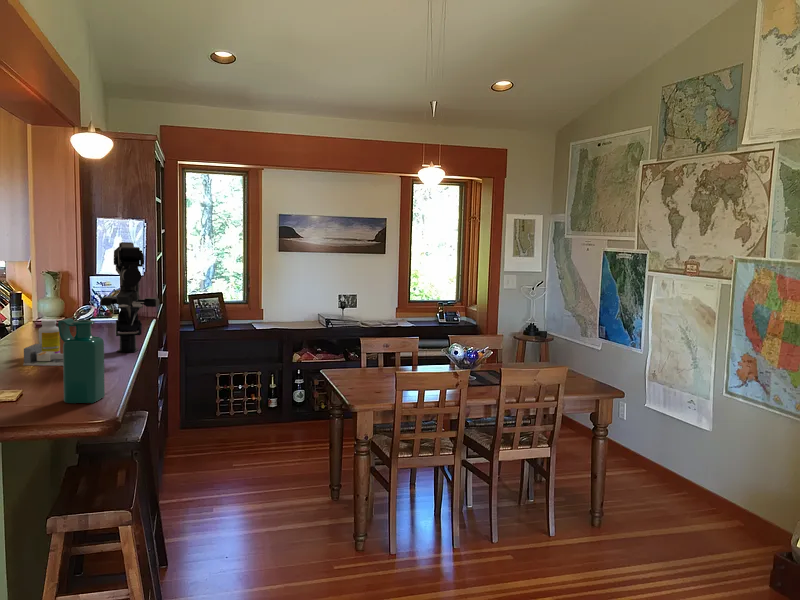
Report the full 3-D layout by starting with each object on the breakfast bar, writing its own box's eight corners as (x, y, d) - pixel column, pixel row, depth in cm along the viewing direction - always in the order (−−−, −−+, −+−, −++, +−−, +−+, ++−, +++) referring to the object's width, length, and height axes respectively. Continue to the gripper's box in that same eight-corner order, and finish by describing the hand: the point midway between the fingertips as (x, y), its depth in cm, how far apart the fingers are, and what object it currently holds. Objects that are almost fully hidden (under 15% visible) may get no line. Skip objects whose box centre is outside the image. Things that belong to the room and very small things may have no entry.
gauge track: (36, 359, 216) (36, 343, 216) (79, 359, 218) (78, 344, 218) (23, 365, 206) (22, 348, 206) (68, 365, 208) (67, 349, 208)
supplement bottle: (63, 355, 224) (63, 320, 223) (44, 358, 219) (44, 322, 217) (54, 353, 228) (53, 318, 227) (35, 355, 222) (34, 320, 221)
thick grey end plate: (43, 358, 215) (43, 349, 214) (83, 358, 216) (83, 349, 216) (33, 362, 207) (33, 353, 207) (75, 363, 209) (75, 353, 208)
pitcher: (107, 396, 173) (106, 318, 171) (93, 404, 165) (92, 322, 162) (71, 395, 173) (70, 317, 170) (55, 403, 164) (54, 321, 162)
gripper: (94, 283, 211) (95, 328, 213) (151, 284, 214) (151, 329, 215) (105, 280, 222) (105, 323, 224) (159, 282, 225) (159, 324, 226)
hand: (130, 325), depth 222 cm, fingers closed
